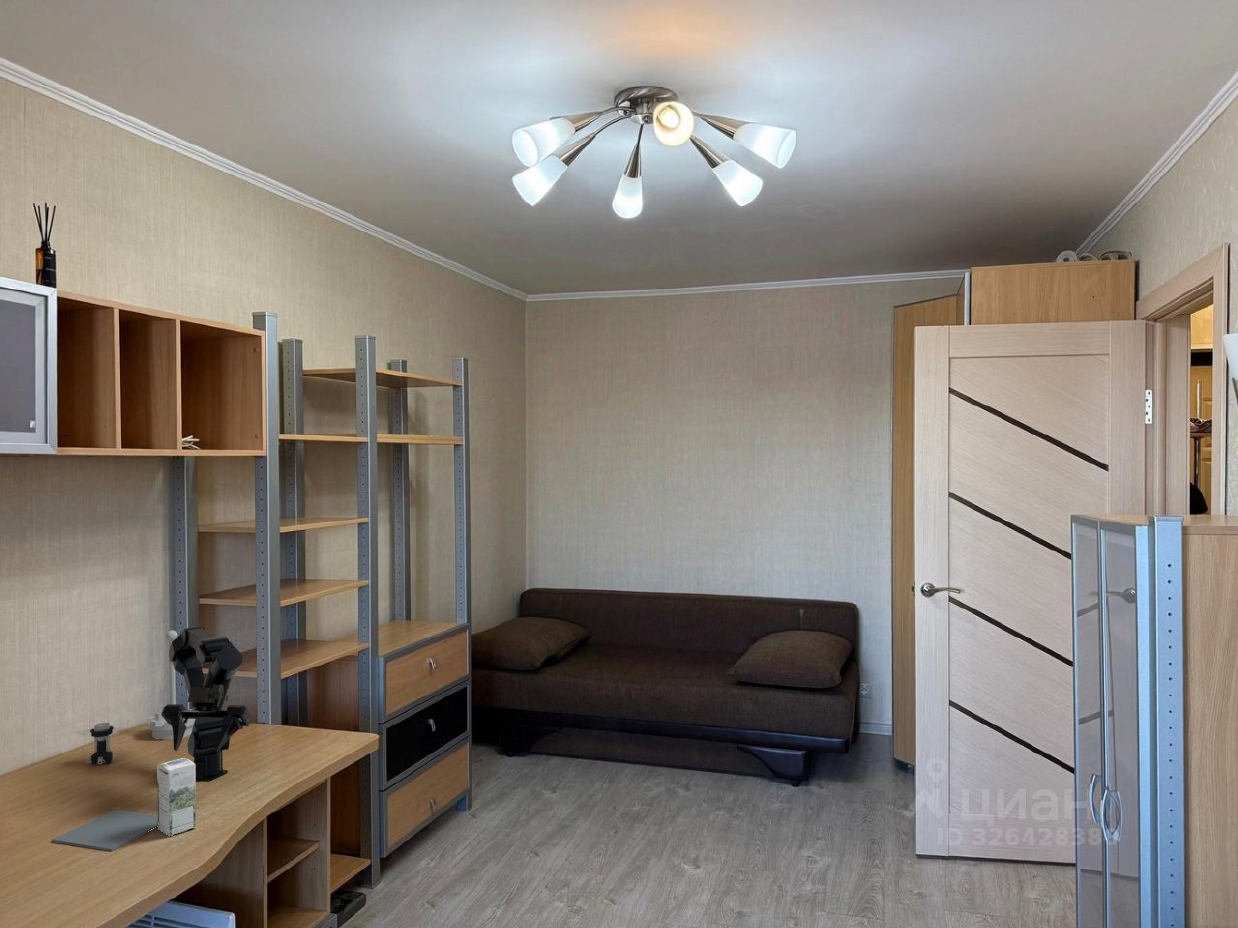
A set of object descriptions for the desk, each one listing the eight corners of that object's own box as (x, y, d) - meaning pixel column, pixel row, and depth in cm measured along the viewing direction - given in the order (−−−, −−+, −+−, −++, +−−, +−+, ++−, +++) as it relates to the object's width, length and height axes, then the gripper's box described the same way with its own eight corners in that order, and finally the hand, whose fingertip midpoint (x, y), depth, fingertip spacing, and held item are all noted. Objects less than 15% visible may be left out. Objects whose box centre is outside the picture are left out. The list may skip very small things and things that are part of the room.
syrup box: (184, 821, 194) (183, 756, 194) (197, 828, 190) (195, 761, 190) (157, 830, 190) (156, 763, 190) (169, 838, 186) (168, 769, 186)
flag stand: (153, 744, 247) (151, 637, 247) (143, 733, 257) (141, 630, 257) (203, 734, 255) (201, 630, 255) (192, 723, 265) (190, 624, 265)
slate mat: (116, 811, 200) (115, 809, 200) (172, 819, 195) (172, 817, 195) (51, 841, 185) (51, 839, 185) (111, 851, 180) (111, 848, 180)
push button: (81, 767, 229) (80, 728, 229) (90, 760, 234) (89, 722, 234) (109, 765, 230) (108, 727, 230) (117, 758, 235) (116, 721, 235)
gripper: (164, 670, 205) (141, 734, 195) (246, 671, 206) (227, 736, 195) (180, 692, 213) (158, 755, 203) (259, 693, 214) (241, 756, 204)
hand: (195, 750), depth 201 cm, fingers open, 9 cm apart
